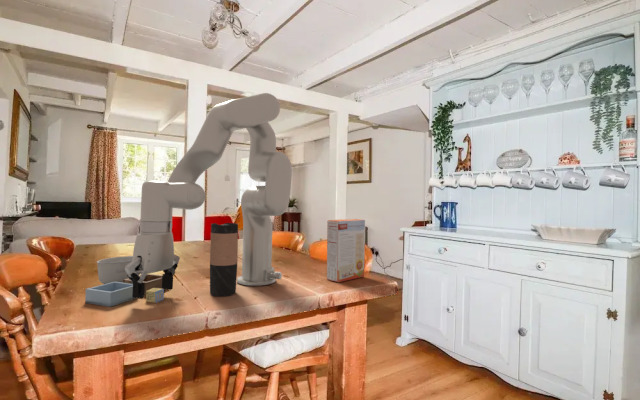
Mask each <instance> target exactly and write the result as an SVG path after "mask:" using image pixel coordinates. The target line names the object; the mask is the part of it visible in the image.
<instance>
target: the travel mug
mask: <svg viewBox="0 0 640 400" xmlns="http://www.w3.org/2000/svg"><path fill="white" fill-rule="evenodd" d="M210 225H211V226H210V247H209V249H210V250H209V294H210V295H211V296H212V297H219V298H220V297H230V296H234V295H235V294H236V291H237V278H238V256H239V255H238V246H239V245H238V244H239V243H238V241H239V224H238V223H235V222H225V223H223V224H218V223H216V222H214V223H210Z"/></svg>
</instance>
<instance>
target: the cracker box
mask: <svg viewBox="0 0 640 400" xmlns="http://www.w3.org/2000/svg"><path fill="white" fill-rule="evenodd" d="M326 230H327V231H326V233H327V234H326V236H327V237H326V280H328V281H330V282H331V281H332V282H335V283H341V282H345V281H349V280H354V279H359V278H364V277H365V237H366V233H365V232H366V220H365V219H358V218H352V219H351V218H350V219H349V218H347V219H346V218H345V219H341V218H340V219H328V220H327V229H326Z"/></svg>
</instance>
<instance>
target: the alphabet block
mask: <svg viewBox="0 0 640 400" xmlns="http://www.w3.org/2000/svg"><path fill="white" fill-rule="evenodd" d="M145 296H146V297H145V301H146V302H147V303H153V304H154V303H156V304H157V303H160V302H161V301H164V300H165V289H160V288H152V289H150V290H147V291H146V295H145Z"/></svg>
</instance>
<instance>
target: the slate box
mask: <svg viewBox="0 0 640 400" xmlns="http://www.w3.org/2000/svg"><path fill="white" fill-rule="evenodd" d="M132 293H133V284H129V283H122V282H111V283H107V284H103V283H102V284H100V285H96V286H93V287H88V288H85V295H84V297H85V299H84V303H85V304H92V305H97V306H103V307H108V308H112V307H114V306H117V305H120V304H123V303H127V302H129V301H130V302H131V301H133V300H136V299H137V298H133V297H132Z"/></svg>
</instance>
